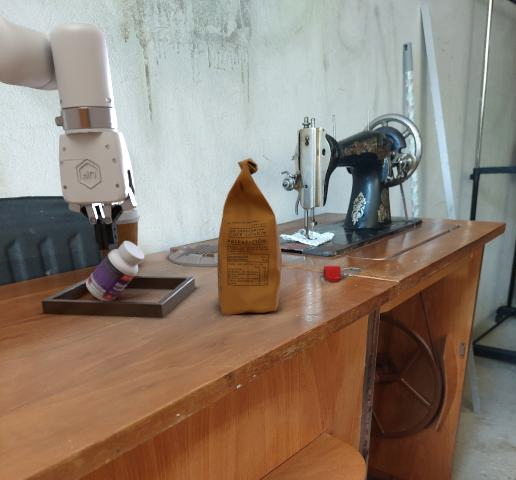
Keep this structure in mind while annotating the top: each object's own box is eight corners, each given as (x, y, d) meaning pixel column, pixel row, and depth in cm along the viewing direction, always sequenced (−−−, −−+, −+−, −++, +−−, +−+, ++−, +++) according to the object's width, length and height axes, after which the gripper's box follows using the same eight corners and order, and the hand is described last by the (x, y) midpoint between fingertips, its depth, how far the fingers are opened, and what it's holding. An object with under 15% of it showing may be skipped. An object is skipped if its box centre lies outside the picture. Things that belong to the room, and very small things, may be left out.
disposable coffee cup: (88, 271, 108) (80, 212, 104) (124, 263, 115) (117, 207, 111) (119, 276, 103) (112, 214, 98) (154, 267, 110) (149, 209, 106)
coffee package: (282, 295, 87) (281, 157, 79) (281, 318, 76) (280, 158, 68) (223, 296, 88) (217, 158, 80) (214, 318, 76) (205, 160, 68)
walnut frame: (43, 316, 79) (41, 300, 78) (95, 288, 94) (93, 274, 94) (162, 320, 76) (161, 304, 75) (195, 290, 91) (194, 277, 90)
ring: (203, 270, 106) (203, 261, 106) (153, 258, 120) (152, 249, 119) (271, 256, 119) (271, 248, 118) (219, 246, 132) (218, 238, 131)
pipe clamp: (322, 272, 103) (322, 261, 102) (336, 272, 103) (337, 261, 102) (326, 282, 95) (326, 270, 95) (341, 282, 95) (342, 270, 94)
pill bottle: (104, 307, 83) (140, 265, 79) (79, 283, 82) (113, 240, 79) (118, 298, 88) (153, 258, 84) (94, 276, 87) (128, 234, 84)
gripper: (29, 125, 73) (52, 253, 80) (128, 119, 71) (144, 252, 77) (57, 126, 80) (76, 245, 87) (148, 121, 78) (161, 243, 84)
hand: (108, 248), depth 82 cm, fingers closed
